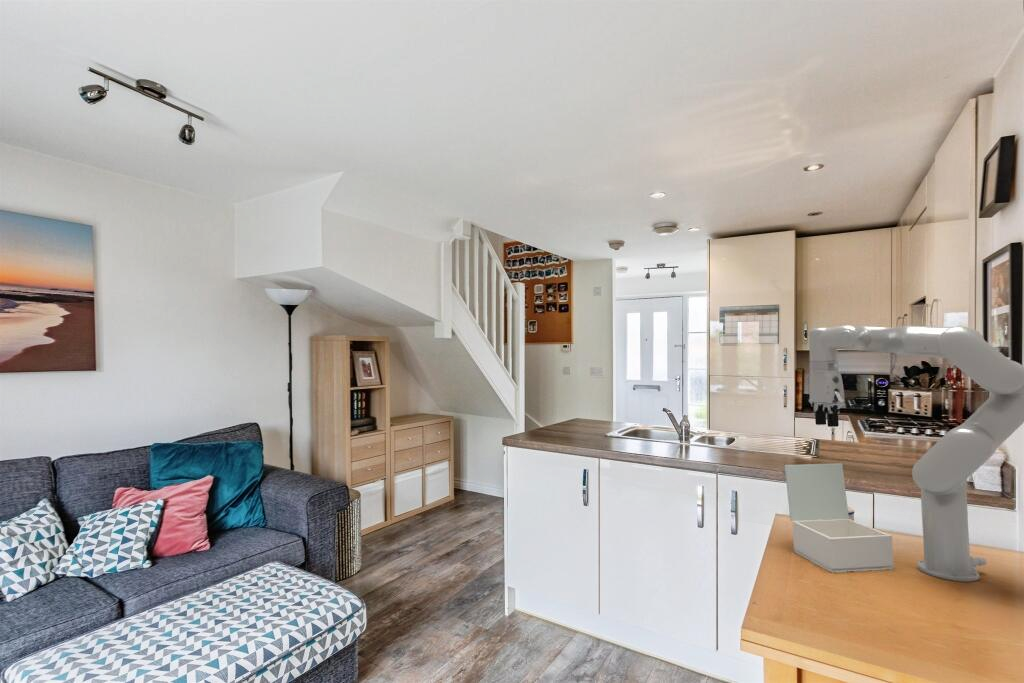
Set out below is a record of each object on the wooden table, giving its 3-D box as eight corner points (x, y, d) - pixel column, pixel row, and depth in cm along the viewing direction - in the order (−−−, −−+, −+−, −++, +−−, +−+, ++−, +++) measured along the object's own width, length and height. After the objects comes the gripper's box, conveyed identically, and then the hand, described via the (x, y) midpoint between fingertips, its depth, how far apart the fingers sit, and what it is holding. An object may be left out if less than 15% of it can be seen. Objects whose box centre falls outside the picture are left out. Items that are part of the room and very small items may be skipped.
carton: (849, 548, 156) (848, 518, 156) (893, 569, 140) (891, 535, 140) (794, 551, 154) (792, 521, 155) (831, 572, 138) (830, 538, 139)
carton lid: (848, 518, 156) (832, 514, 163) (842, 463, 159) (826, 461, 166) (792, 521, 154) (778, 516, 161) (786, 465, 157) (772, 463, 164)
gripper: (855, 366, 152) (859, 428, 151) (816, 366, 169) (819, 422, 168) (832, 367, 151) (835, 429, 150) (795, 367, 168) (797, 423, 167)
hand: (826, 424), depth 159 cm, fingers open, 4 cm apart
